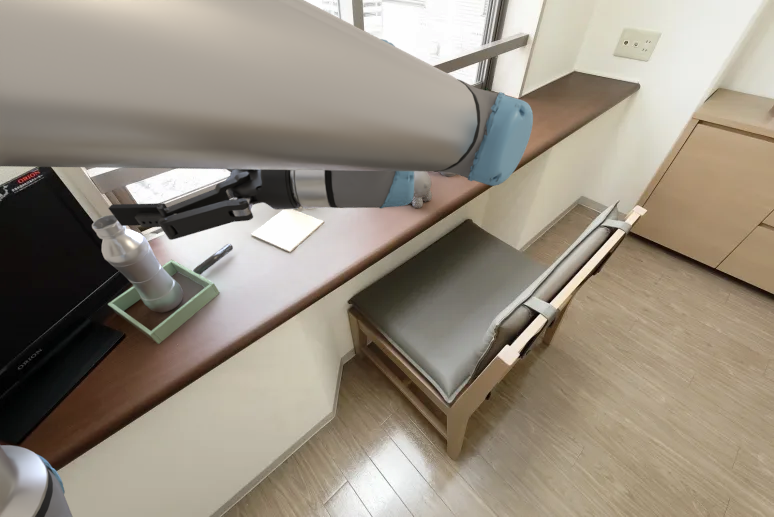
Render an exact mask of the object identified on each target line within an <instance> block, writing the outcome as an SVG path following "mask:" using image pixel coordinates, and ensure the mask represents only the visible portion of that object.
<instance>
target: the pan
mask: <svg viewBox="0 0 774 517" xmlns="http://www.w3.org/2000/svg"><path fill="white" fill-rule="evenodd" d="M233 249H234V246H233V245H232V244H231V243H227V244H225V245H224V246H223V247H221V248H220V249H219V250H217V251H215V253H213V254H212V255H210V256H209V257H208V258H206V259H205V260H204V261H203V262H201V263H199V264H198V265H197V266H196V267H194V268H193V270H191V269H190V268H188V267H186V266H185V265H182V264H181V263H180V262H177V261H175V260H174V259H170V260H168V261H167V262H166V263H164V264H163V265H161V266H162V267H163V269H164V270H165V271H166V272H167V273H168V274H169V275H170V276H171V277H173V276H174V275H175V274H177V273H179V274H180V275H182V276H184V277H185V278H188V279H189V280H191V281H193V282H194V283H196V284H198V285H199V286H202V287H203V289H201V290H199V292H198V293H196V294H195V295H194V296H193V297H191V298H190V299H188V300H187V301H186V302H185V303H184V304H183V305H181V306H180V307H179V308H178V309H176V310H175V311H173V313H171V314H170V315H169V316H168V317H166V318H165V319H164V320H163V321H161V322H160V323H159V324H158V325H157V326H155V327H154V328H152V330H150V329H149V328H148V327H146V326H145V325H143V324H142V323H141V322H139V321H138V320H136V319H135V318H134V317H133V316H131V315H130V314H128V313H127V312H125V311H127V310H128V309H129V308H130V307H132V306H133V305H134V304H136V303H138V301H140V300H142V299H141V297H140V294H139V293H138V292H137V290H136V289H135V287H134V286H133V285H132V286H131V287H130V288H128V289H127V290H125V291H124V292H123V293H121V294H119V295H118V296H117V297H115V298H114V299H112V300H111V301H109V302H108V303H107V306H109V308H110V309H112V310H113V312H114V313H116V314H117V315H118V316H119V317H121V319H123V320H125V321H126V322H128V323H129V324H131V326H133V327H134V328H136V329H137V330H138V331H140V332H141V333H143V334H144V335H145V336H146V337H148V338H149V339H151V340H152V341H154V343H156V344H158V345H160V344H161V343H162V342H164V341H165V340H166V339H167V338H168V337H169V336H171V335H172V334H173V333H174V332H175V331H177V330H178V329H179V328H180V327H181V326H183V324H185V323H186V322H187V321H188V320H190V319H191V318H192V317H193V316H194V315H195V314H196V313H198V312H200V310H201V309H203V308H204V307H205V306H206V305H208V304H209V303H210V302H211V301H212V300H213V299H215V298H216V297H217V296H218V295H220V291H219V289H218V287H217V286H216V284H215V283H214V282H213V281H212V280H209V279H208V278H206V277H204V276H203V275H202V274H203V273H205V272H206V271H207V270H209V269H210V268H211V267H212V266H214V265H215V264H216V263H217V262H218V261H220V260H221V259H223V258H224V257H225V256H226V255H228V254H229V253H230V252H232V251H233Z"/></svg>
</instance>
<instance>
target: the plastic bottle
mask: <svg viewBox="0 0 774 517" xmlns="http://www.w3.org/2000/svg"><path fill="white" fill-rule="evenodd" d="M91 228H92V230H93V231H94V232H95V233H96V236H97V237H98V238H99V239H101V240H102V242H101V253H102V256H103V258H104V260H105V261H106V262H108V263H109V264H110V265H111V266H112V267H113V268H115V269H116V270H117V271H118V272H120V273H121V274H122V275H123V277H125V278H126V279H127V280H128V281H129V282H130V284H132V287H133V286H134V287H135V289H136V290H137V292H138V293H139V294H140V297H141V299H140V300H141V301H142V303H143V304H144V306H145V307H146V308H148V309H150V310H151V311H152V312H156V313H167V312H170V311H172V310H174V309H176V308H177V307H178V306H179V305H181V303H182V301H183V298H184V291H183V289H182V286H181V284H180V283H179V282H178V281H177V280H176V279H174V277H173V276H170V275H169V274H168V273H167V272H166V271H165V270H164V269H163V267H162V266H163V265H162V264H161V263H160V261H159V259H158V258H157V256H156V255H155V253H154V250H153V249H152V246H151V244H150V243H149V240H148V238H146V237H145V235H143V234H142V233H140V232H138V231H135V230H133V229H129V228H127V226H122V225H121V224H120V223H119V222H118V220H117V219H116V218H115V216H114V215H113V214H108V215H107V214H106V215H104V216H101V217H99V218H97V219H96V220H95V221H93V223H92V224H91Z"/></svg>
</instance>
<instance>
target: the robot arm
mask: <svg viewBox="0 0 774 517" xmlns="http://www.w3.org/2000/svg"><path fill="white" fill-rule="evenodd" d="M533 123H534V114H533V109H532V107H531V105H530V104H529V103H528V102H527V101H525V100H523V99H520V98H515V97H512V96H509V95H506V94H505V92H501V91H499V92H494V91H493V92H492V91H489V90H485V89H482V88H478V87H475V86H474V85H471V84H469V83H467V82H465V81H464V80H462V79H459V78H456V77H455V76H453V75H451V74H449V73H447V72H446V71H443V70H442V69H440V68H437V67H436V66H433V65H432V64H430V63H428V62H426V61H424V60H422V59H420V58H418V57H416V56H414V55H412V54H411V53H408V52H406V51H404V50H402V49H401V48H399V47H396V45H395V44H394V43H392V42H390V41H388V40H386V39H383V38H379V37H377V36H374V35H373V34H371V33H369V32H367V31H366V30H363V29H361V28H360V27H357V26H356V25H354V24H351V23H350V22H347V21H346V20H344V19H341V18H340V17H337V16H336V15H334V14H332V13H330V12H328V11H326V10H324V9H322V8H320V7H318V6H316V5H314V4H313V3H310V2H308V1H307V0H0V168H1V167H15V168H17V167H18V168H19V167H21V168H22V167H24V168H29V167H30V168H100V169H101V168H104V169H105V168H107V169H108V168H110V169H119V168H121V169H172V170H174V169H175V170H177V169H185V170H187V169H191V170H192V169H193V170H227V171H228V172H230V173H229V176H228V177H227V178H226V179H225V180H224V181H221V182H218V183H217V184H216V185H215V188H213V189H211V190H208V191H206V192H203V193H201V194H198V195H195V196H193V197H190V198H188V199H186V200H183V201H180V202H177V203H175V204H173V205H170V206H167V205H166V203H165V202H163V203H161V202H160V203H159V202H158V203H157V202H156V203H119V204H117V203H116V204H115V203H114V204H111V205H110V206H109V207H108V210H109V211H110V212H111V215H114V216H115V218H116V219H117V220H118V222H119V223H120V224H121V225H122V226H126V227H128V226H129V227H130V226H131V227H133V226H134V227H135V226H140V227H142V228H161V229H162V232H163V233H164V234H165V235H166V237H167V239H168V240H170V241H172V240H177V239H181V238H183V237H187V236H191V235H194V234H197V233H200V232H204V231H208V230H211V229H214V228H218V227H221V226H224V225H228V224H230V223H236V222H237V223H238V222H246V221H247V222H248V221H251V220H253V219H254V215H253V212H252V207H253V206H254V205H257V204H258V205H259V204H265V205H267V206H268V207H270V208H271V209H273V210H283V209H293V210H298V209H299V208H300V207H302V208H303V209H328V208H329V209H365V208H367V209H371V208H372V209H374V208H375V209H384V208H395V207H396V208H397V207H403V206H404V207H405V206H408V205H410V204H412V203H411V201H412V200H413V196H414V171H425V172H427V173H428V172H430V173H440V172H451V173H455V174H456V175H458V176H461V177H463V178H466V179H467V181H470V182H473V181H475V182H478V183H480V184H484V185H487V186H490V187H491V186H493V187H495V186H499V185H501V184H503V183H504V182H505V181H508V179H509V178H510V177H511V175H512V174H513V173H514V172H515V170H516V169H517V167H518V166H519V164H520V162H521V160H522V158H523V156H524V153H525V152H526V148H527V146H528V144H529V140H530V138H531V134H532V130H533ZM229 196H230V197H229ZM230 198H232V199H230ZM65 491H66V490H65V488H64V483H63V481H62V478H61V476H60V474H59V473H58V470H56V469H55V468H53V466H52V465H51V463H49V461H48V460H47V459H46V458H45V457H43V456H41V455H40V454H38V453H35V452H34V451H32V450H30V449H29V448H25V447H22V446H18V445H11V444H6V445H1V444H0V517H74V516H73V514H72V511H71V508H70V507H69V503H68V501H67V499H66V496H65V493H66V492H65Z"/></svg>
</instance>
